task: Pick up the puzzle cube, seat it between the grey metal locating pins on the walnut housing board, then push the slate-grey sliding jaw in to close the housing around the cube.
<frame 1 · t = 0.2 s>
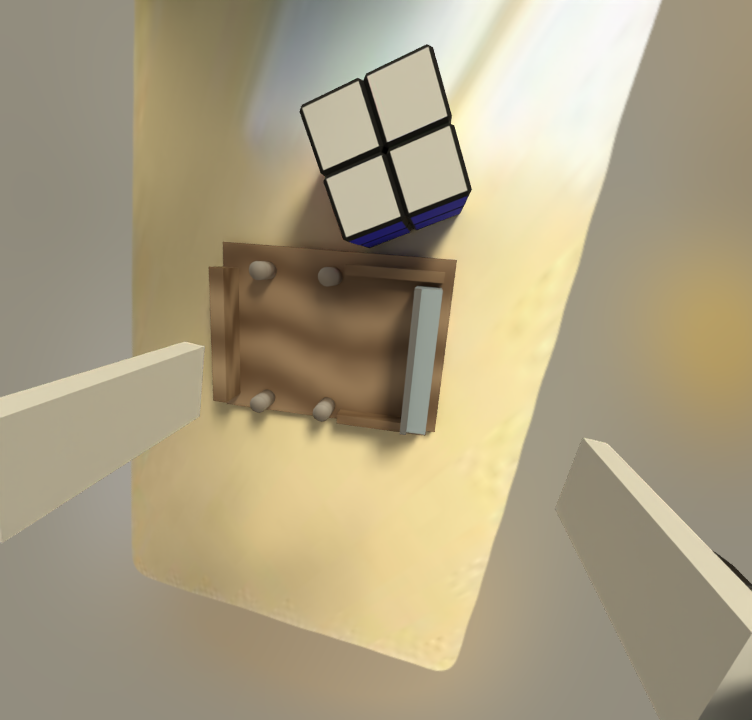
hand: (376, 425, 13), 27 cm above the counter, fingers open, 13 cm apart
puzzle cube: (397, 180, 36), on the counter
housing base: (333, 336, 41), on the counter
jaw: (420, 359, 36), point 4 cm above the counter, slide at 0.0 cm
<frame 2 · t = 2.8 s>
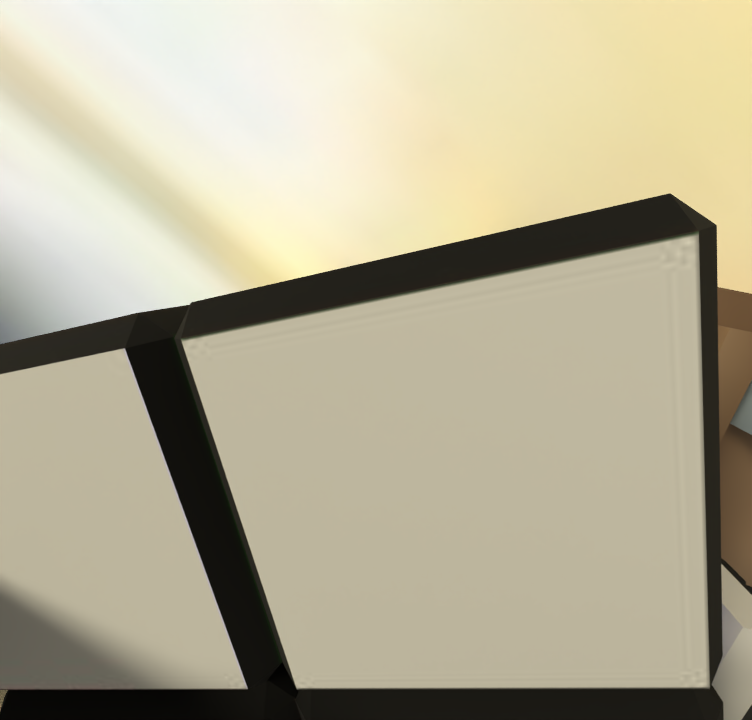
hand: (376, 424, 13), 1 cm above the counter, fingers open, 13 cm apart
puzzle cube: (383, 407, 14), on the counter
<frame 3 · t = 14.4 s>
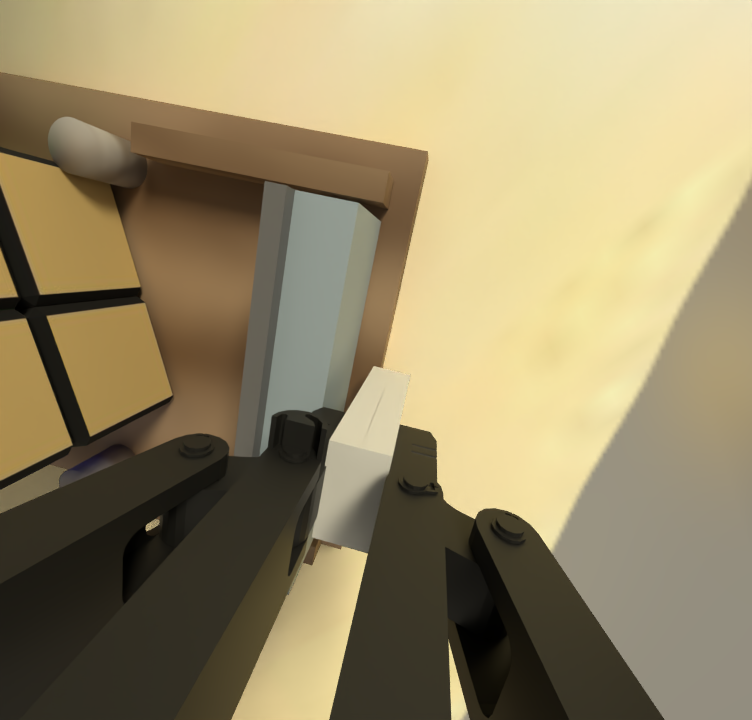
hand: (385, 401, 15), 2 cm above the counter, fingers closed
puzzle cube: (61, 310, 18), point 1 cm above the counter, touching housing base
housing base: (144, 314, 18), on the counter
jaw: (302, 399, 14), point 4 cm above the counter, slide at 0.1 cm, touching gripper
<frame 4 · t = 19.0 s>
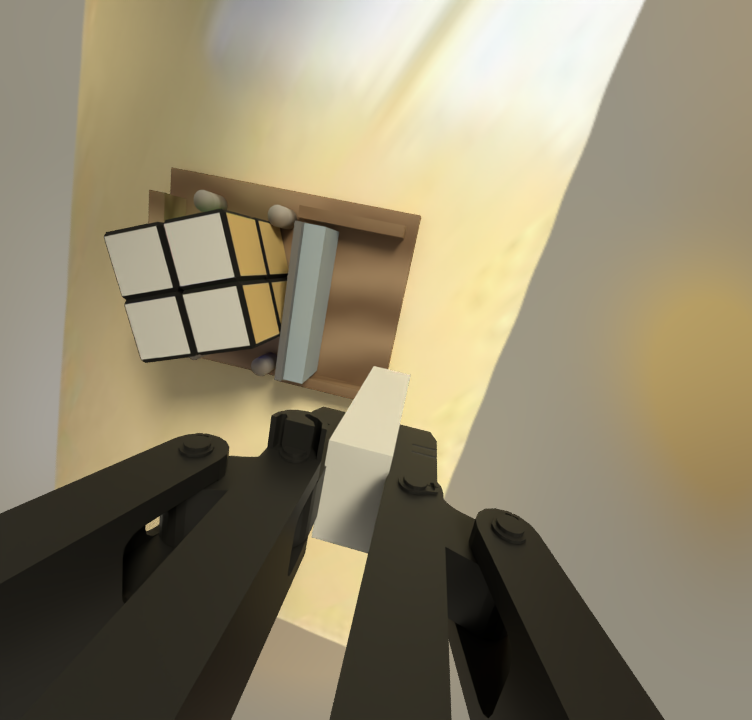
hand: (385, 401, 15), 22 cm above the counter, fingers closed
puzzle cube: (245, 284, 37), point 1 cm above the counter, touching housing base
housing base: (284, 287, 38), on the counter
jaw: (307, 304, 34), point 4 cm above the counter, slide at 5.9 cm
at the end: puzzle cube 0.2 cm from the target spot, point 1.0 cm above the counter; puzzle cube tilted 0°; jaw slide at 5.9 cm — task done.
